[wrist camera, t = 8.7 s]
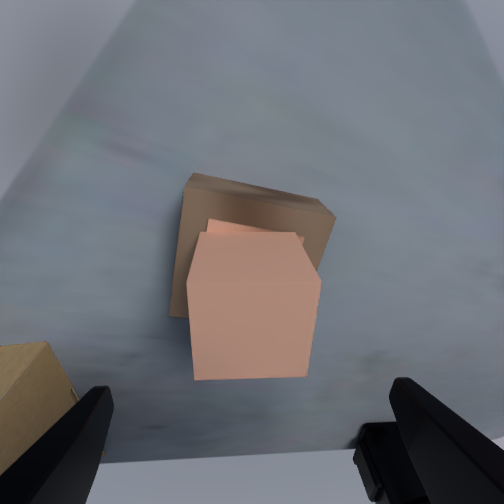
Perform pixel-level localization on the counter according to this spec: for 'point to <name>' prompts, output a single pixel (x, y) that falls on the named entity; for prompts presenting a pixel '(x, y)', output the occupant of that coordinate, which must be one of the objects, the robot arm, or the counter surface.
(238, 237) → the terracotta cube
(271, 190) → the oak base block
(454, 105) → the counter surface
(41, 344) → the sandwich container
